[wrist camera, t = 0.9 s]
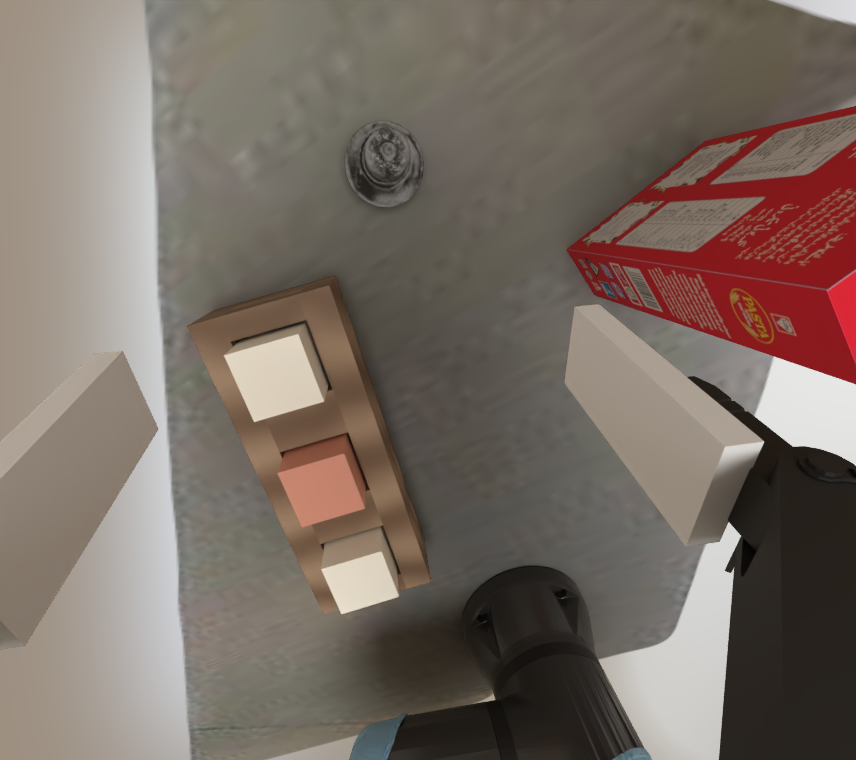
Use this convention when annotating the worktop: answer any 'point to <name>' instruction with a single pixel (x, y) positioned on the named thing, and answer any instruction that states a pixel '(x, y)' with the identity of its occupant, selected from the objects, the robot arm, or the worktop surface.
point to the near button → (278, 371)
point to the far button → (360, 569)
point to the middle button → (323, 479)
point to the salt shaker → (384, 164)
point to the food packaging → (745, 243)
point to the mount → (318, 427)
